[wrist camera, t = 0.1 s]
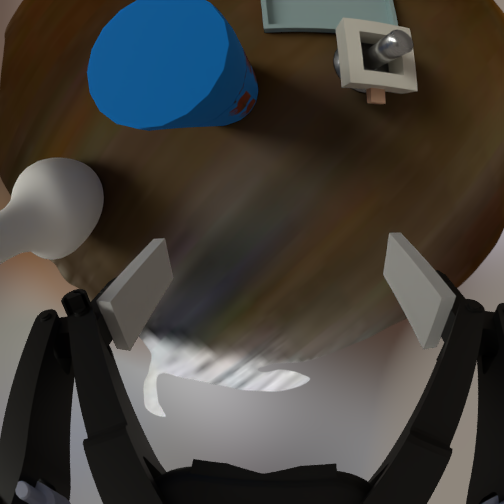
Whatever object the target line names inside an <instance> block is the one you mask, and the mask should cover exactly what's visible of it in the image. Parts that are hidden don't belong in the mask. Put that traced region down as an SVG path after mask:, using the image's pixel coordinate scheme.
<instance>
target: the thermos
mask: <svg viewBox="0 0 504 504" xmlns="http://www.w3.org/2000/svg"><path fill="white" fill-rule="evenodd" d="M87 74H88V82H89V89H90V94H91V96H92V98H93V99H94V101H95V103H96V105H97V107H98V108H99V110H100V111H101V112H102V113H103V114H105V115H106V116H107V117H108V118H110V119H111V120H112V121H114V122H115V123H116V124H120V125H125V126H129V127H133V128H136V129H142V130H148V131H150V130H160V129H171V128H185V127H205V126H225V125H228V124H231V123H234V122H237V121H239V120H241V119H242V118H244V117H245V116H246V115H247V114H249V113H250V112H251V110H252V108H253V107H254V105H255V103H256V101H257V96H258V85H257V80H256V75H255V73H254V70H253V68H252V66H251V64H250V62H249V60H248V58H247V56H246V54H245V52H244V50H243V48H242V46H241V44H240V42H239V40H238V38H237V36H236V34H235V32H234V31H233V29H232V27H231V26H230V24H229V23H228V22H227V20H226V19H225V18H224V17H223V15H222V14H221V13H220V11H219V10H218V9H217V8H216V7H214V6H213V5H212V4H211V3H209V2H208V1H206V0H137V1H135V2H133V3H132V4H130V5H128V6H127V7H125V8H123V9H122V10H120V11H119V12H118V13H117V14H116V15H115V16H114V17H113V18H112V19H111V20H110V22H109V23H108V24H107V25H106V26H105V27H104V28H103V29H102V31H101V33H100V35H99V37H98V39H97V40H96V42H95V44H94V46H93V48H92V51H91V55H90V60H89V65H88V71H87Z"/></svg>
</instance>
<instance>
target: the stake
mask: <svg viewBox="0 0 504 504" xmlns="http://www.w3.org/2000/svg"><path fill="white" fill-rule="evenodd" d="M361 48H362V57H363V66H364V70H370V71H378V72H385V73H389V66H388V62H390V61H392V60H394V59H396V58H398V57H400V56H402V55H405V54H407V53H409V52H411V51H412V49H413V41H412V39H411V37H410V36H409V35H408V34H407V33H406V32H404V31H402V30H393V31H391V32H390V33H389V34H387V35H386V36H385V37H383V38H382V39H381V40H379V41H378V42H377V43H375V44H368V43H361ZM333 63H334V68H335V71H336V73H337V75H338V77H339V78H340V79H341V74H340V64H339V54H338V48H337V50H336V51H335V54H334V59H333ZM351 89H353V90H355V91H358V92H363V93H366V89H356V88H351Z"/></svg>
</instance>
